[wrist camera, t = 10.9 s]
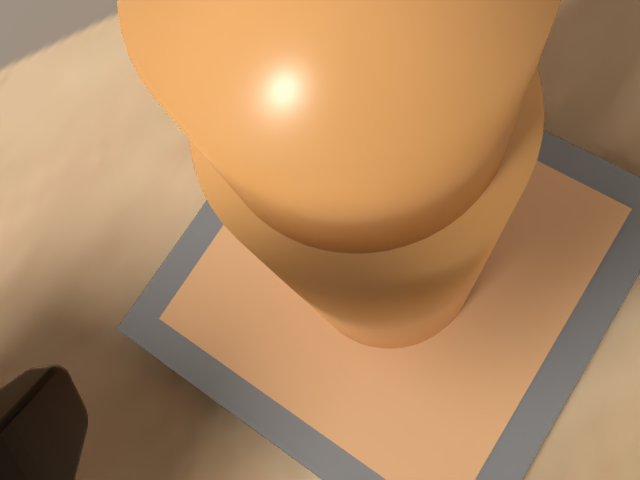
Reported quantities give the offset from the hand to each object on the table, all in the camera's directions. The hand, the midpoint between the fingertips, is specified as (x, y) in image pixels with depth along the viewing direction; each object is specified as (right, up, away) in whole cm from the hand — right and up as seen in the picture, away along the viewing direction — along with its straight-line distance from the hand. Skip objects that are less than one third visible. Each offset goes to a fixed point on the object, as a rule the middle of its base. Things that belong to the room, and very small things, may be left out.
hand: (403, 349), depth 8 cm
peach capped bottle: (+1, +1, +10) cm, 10 cm away
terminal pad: (+1, 0, +11) cm, 11 cm away
